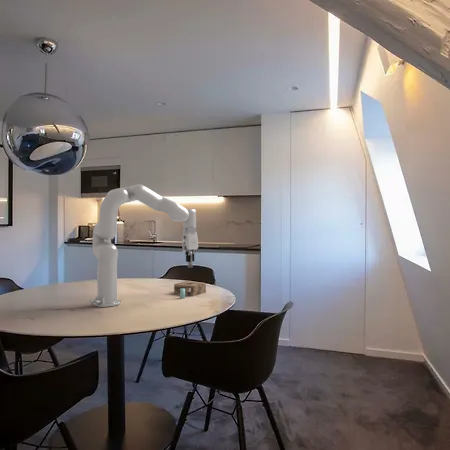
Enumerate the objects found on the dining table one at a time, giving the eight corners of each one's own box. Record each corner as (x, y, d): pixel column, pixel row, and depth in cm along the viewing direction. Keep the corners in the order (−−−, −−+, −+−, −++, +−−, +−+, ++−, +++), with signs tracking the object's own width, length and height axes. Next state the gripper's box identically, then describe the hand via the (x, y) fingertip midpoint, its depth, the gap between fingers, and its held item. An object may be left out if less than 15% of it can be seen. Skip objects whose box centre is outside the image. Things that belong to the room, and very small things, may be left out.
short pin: (183, 298, 195) (183, 289, 195) (179, 298, 197) (179, 289, 197) (186, 297, 197) (186, 288, 197) (182, 297, 199) (182, 288, 199)
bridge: (193, 296, 202) (193, 286, 202) (174, 293, 209) (174, 284, 209) (205, 292, 212) (205, 283, 212) (187, 290, 220) (187, 281, 219)
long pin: (190, 267, 209) (190, 247, 209) (187, 267, 210) (186, 247, 210) (193, 267, 211) (193, 246, 211) (189, 267, 212) (189, 246, 212)
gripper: (186, 230, 201) (186, 263, 202) (203, 229, 215) (203, 260, 215) (175, 230, 205) (176, 262, 206) (193, 229, 219) (193, 259, 219)
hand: (190, 261), depth 211 cm, fingers closed on long pin, 2 cm apart
